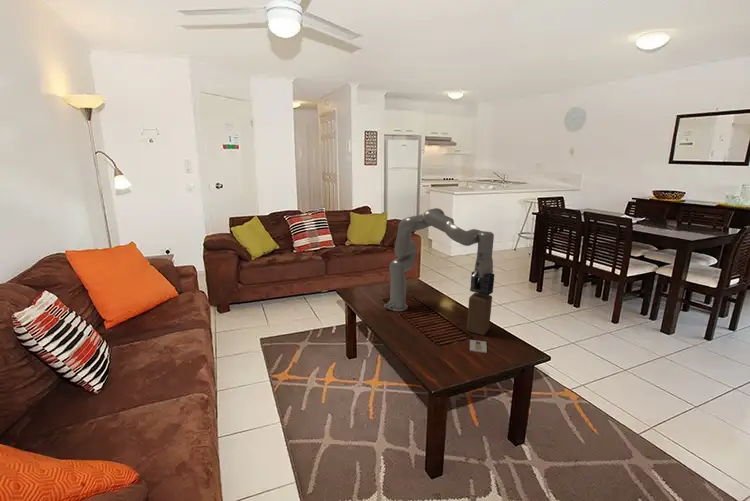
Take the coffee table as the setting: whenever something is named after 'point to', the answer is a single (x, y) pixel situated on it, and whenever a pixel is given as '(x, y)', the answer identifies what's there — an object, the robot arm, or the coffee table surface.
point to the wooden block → (479, 313)
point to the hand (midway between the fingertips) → (481, 287)
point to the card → (478, 346)
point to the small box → (484, 284)
